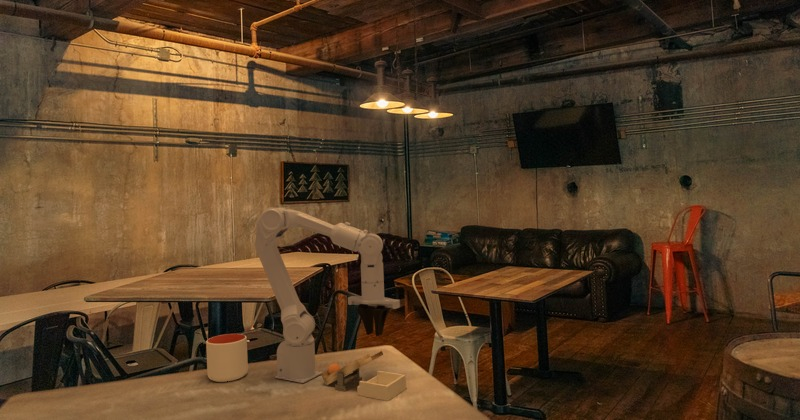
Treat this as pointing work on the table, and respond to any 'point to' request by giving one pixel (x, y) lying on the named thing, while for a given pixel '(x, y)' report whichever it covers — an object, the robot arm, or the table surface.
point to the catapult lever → (349, 367)
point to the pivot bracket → (347, 380)
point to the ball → (333, 368)
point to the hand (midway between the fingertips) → (374, 334)
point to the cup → (227, 357)
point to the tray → (382, 386)
